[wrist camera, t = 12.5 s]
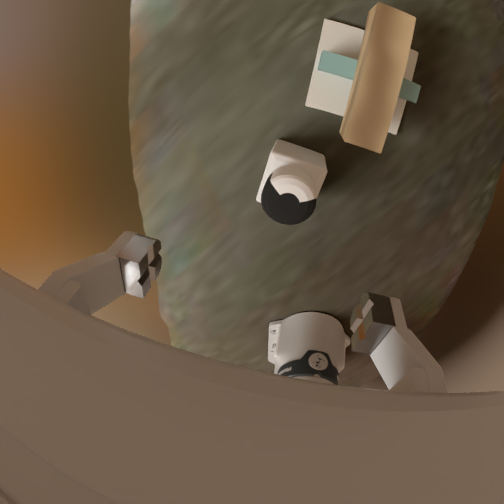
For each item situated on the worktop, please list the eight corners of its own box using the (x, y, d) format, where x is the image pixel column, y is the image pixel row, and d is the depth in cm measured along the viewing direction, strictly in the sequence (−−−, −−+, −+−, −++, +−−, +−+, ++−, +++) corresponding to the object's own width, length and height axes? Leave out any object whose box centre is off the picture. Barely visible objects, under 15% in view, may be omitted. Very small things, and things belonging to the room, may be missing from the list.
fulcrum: (394, 133, 33) (407, 143, 28) (305, 105, 33) (304, 109, 28) (416, 52, 25) (433, 50, 20) (324, 20, 25) (327, 10, 21)
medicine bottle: (308, 196, 41) (307, 240, 32) (263, 181, 41) (247, 220, 32) (325, 154, 37) (331, 185, 27) (277, 137, 37) (264, 162, 27)
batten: (401, 24, 19) (416, 17, 15) (370, 142, 29) (380, 153, 25) (368, 11, 19) (378, 1, 16) (339, 132, 29) (344, 141, 25)
